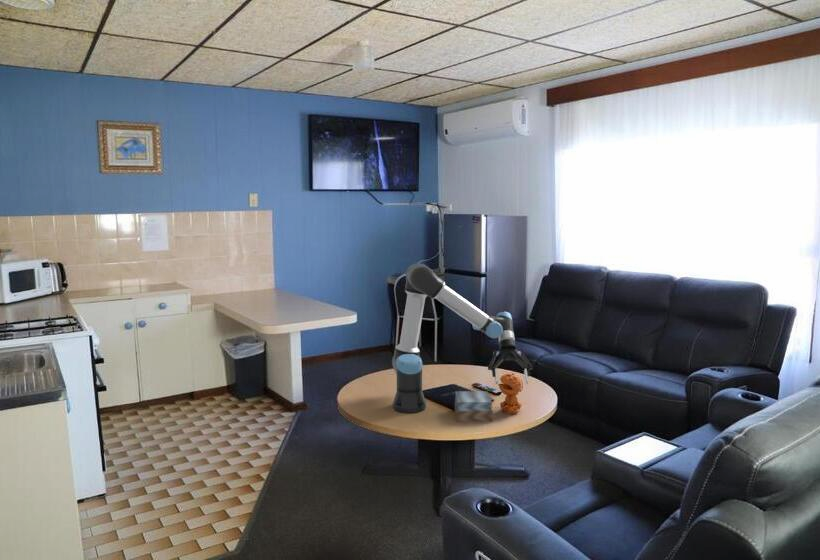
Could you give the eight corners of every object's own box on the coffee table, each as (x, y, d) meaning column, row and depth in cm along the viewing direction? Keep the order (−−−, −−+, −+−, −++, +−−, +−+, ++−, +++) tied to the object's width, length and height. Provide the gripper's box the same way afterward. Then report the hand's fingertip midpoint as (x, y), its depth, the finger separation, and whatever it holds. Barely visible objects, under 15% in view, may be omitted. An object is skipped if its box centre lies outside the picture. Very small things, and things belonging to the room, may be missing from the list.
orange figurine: (496, 406, 270) (496, 368, 268) (520, 407, 270) (521, 368, 267) (499, 415, 259) (499, 375, 257) (524, 416, 259) (525, 376, 256)
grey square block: (457, 421, 252) (457, 402, 251) (454, 409, 267) (454, 391, 266) (492, 421, 252) (492, 402, 251) (487, 409, 267) (488, 391, 266)
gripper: (532, 346, 282) (538, 386, 269) (479, 346, 282) (483, 386, 269) (534, 337, 276) (541, 378, 263) (481, 338, 276) (485, 379, 263)
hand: (511, 383), depth 266 cm, fingers open, 13 cm apart
